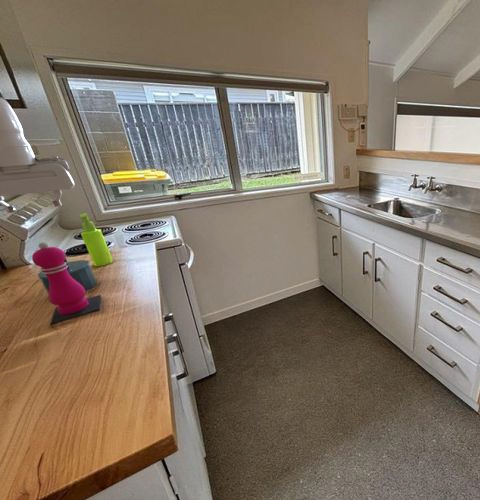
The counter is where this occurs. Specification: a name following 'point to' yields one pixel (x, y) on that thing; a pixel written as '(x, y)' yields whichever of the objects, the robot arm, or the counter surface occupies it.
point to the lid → (71, 267)
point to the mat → (92, 307)
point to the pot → (78, 279)
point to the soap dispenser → (95, 242)
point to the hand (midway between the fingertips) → (36, 209)
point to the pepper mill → (60, 280)
